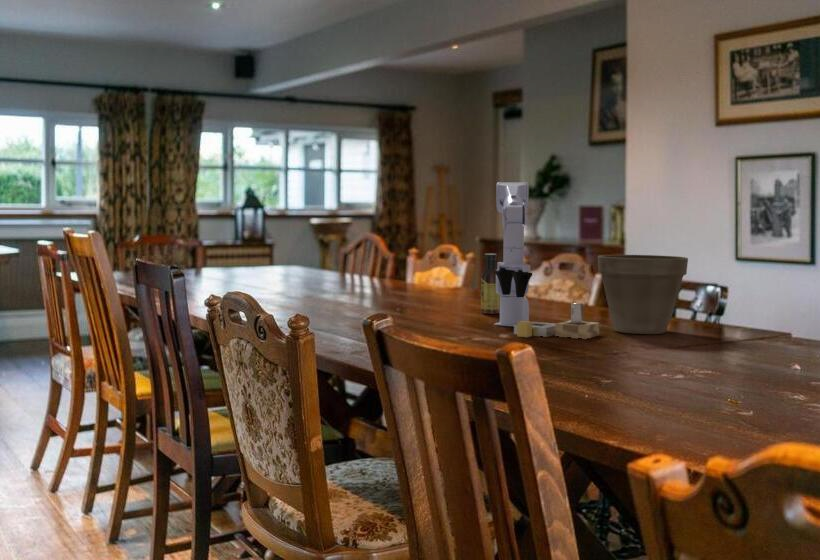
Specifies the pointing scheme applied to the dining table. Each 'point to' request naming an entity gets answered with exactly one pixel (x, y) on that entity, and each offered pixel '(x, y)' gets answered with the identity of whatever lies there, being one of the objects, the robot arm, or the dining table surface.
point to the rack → (577, 330)
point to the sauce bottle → (489, 286)
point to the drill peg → (577, 313)
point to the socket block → (540, 329)
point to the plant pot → (641, 290)
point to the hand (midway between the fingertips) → (513, 295)
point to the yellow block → (524, 329)
